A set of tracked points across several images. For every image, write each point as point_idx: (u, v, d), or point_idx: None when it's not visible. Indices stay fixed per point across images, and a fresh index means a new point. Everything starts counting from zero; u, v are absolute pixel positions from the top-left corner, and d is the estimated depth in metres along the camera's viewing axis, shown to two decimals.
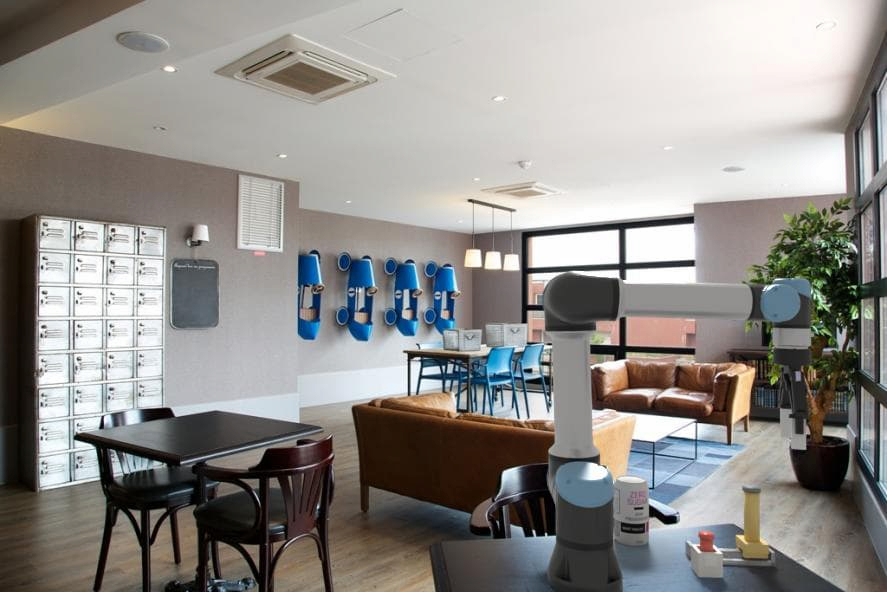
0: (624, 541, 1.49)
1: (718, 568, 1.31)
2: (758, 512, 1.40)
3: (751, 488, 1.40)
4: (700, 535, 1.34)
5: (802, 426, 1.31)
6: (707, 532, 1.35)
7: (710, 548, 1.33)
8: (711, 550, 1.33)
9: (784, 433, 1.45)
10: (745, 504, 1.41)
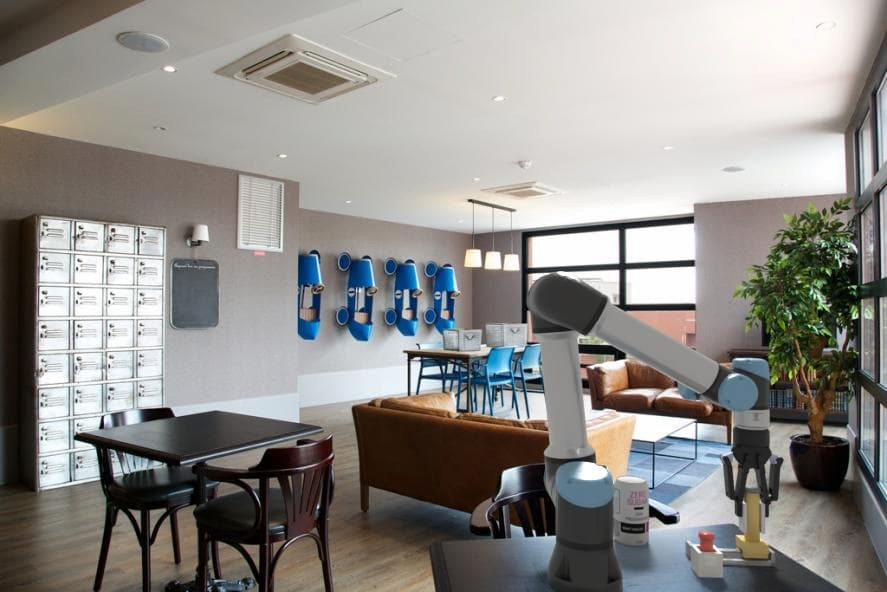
0: (624, 541, 1.49)
1: (718, 568, 1.31)
2: (758, 512, 1.40)
3: (751, 488, 1.40)
4: (700, 535, 1.34)
5: (736, 508, 1.41)
6: (707, 532, 1.35)
7: (710, 548, 1.33)
8: (711, 550, 1.33)
9: None
10: None
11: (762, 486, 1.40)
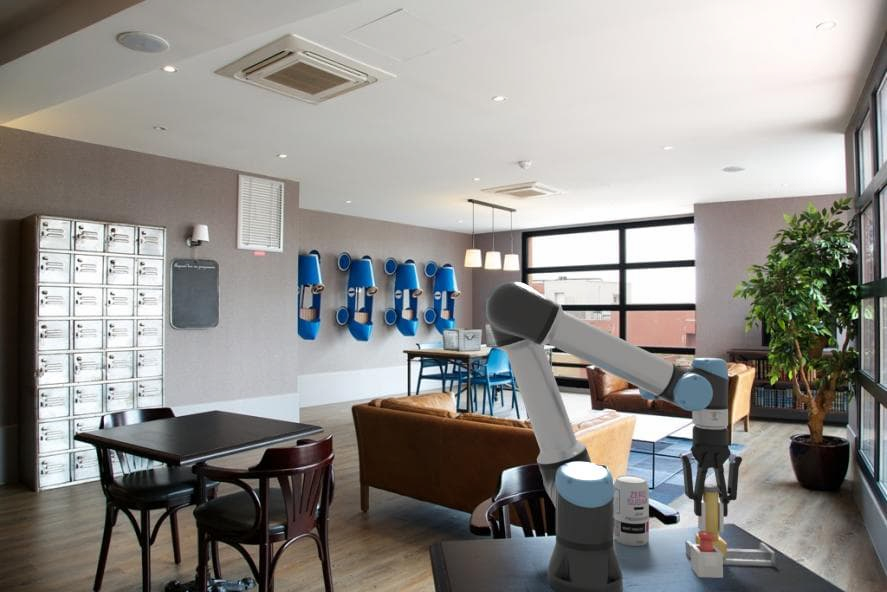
0: (624, 541, 1.49)
1: (718, 568, 1.31)
2: (717, 511, 1.40)
3: (709, 487, 1.40)
4: (700, 535, 1.34)
5: (695, 507, 1.41)
6: (707, 532, 1.35)
7: (710, 548, 1.33)
8: (711, 550, 1.33)
9: None
10: None
11: (721, 485, 1.40)
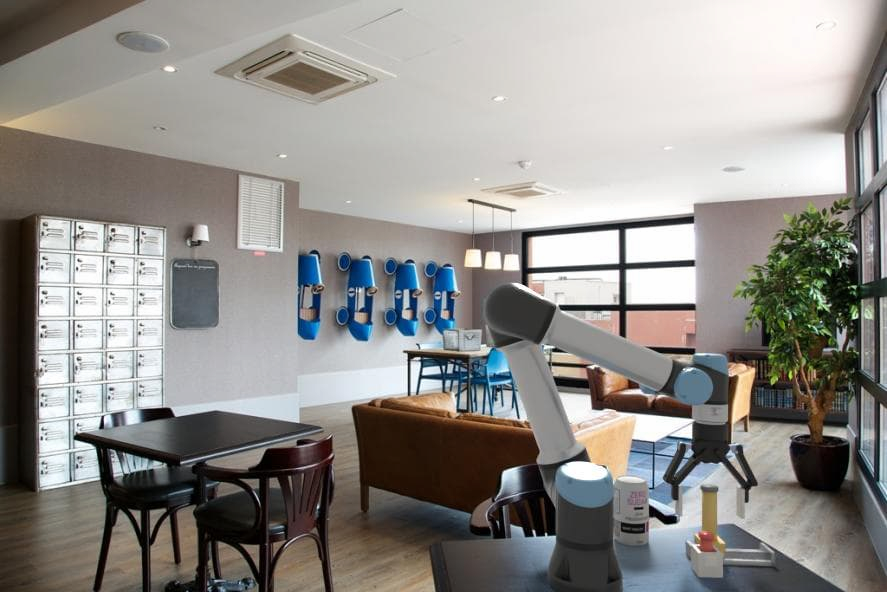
0: (624, 541, 1.49)
1: (718, 568, 1.31)
2: (715, 511, 1.40)
3: (708, 487, 1.40)
4: (700, 535, 1.34)
5: (672, 492, 1.42)
6: (707, 532, 1.35)
7: (710, 548, 1.33)
8: (711, 550, 1.33)
9: (737, 512, 1.42)
10: (703, 503, 1.41)
11: (735, 475, 1.40)
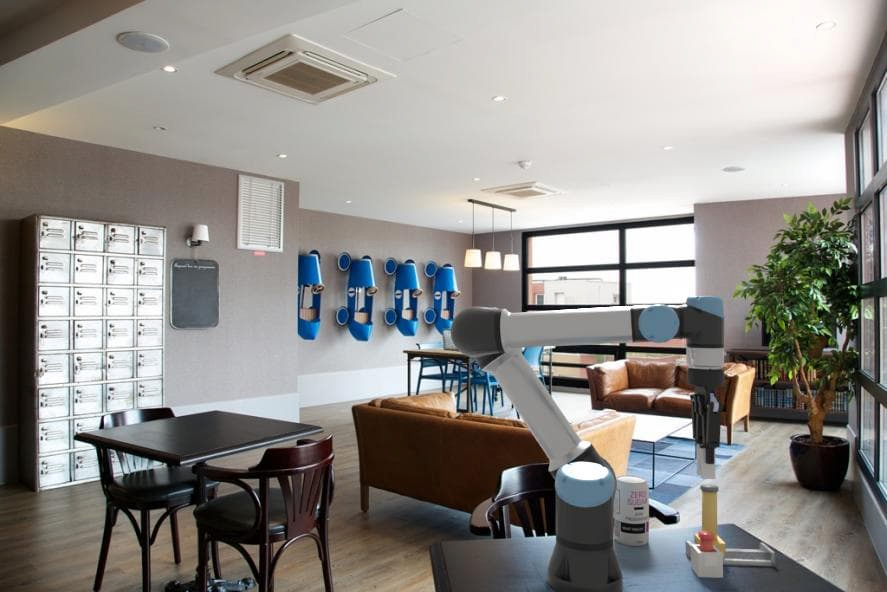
0: (624, 541, 1.49)
1: (718, 568, 1.31)
2: (715, 511, 1.40)
3: (708, 487, 1.40)
4: (700, 535, 1.34)
5: (713, 456, 1.32)
6: (707, 532, 1.35)
7: (710, 548, 1.33)
8: (711, 550, 1.33)
9: (701, 471, 1.36)
10: (703, 503, 1.41)
11: None
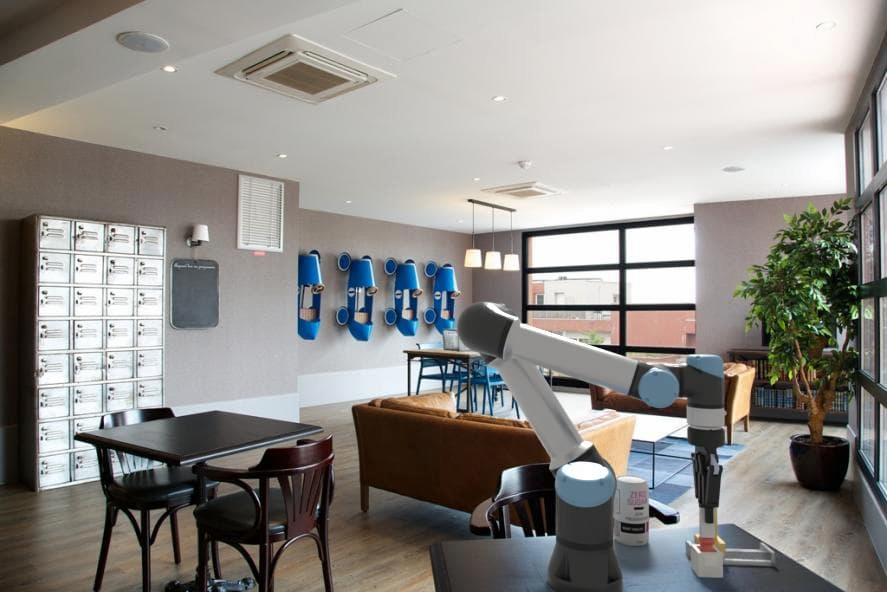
0: (624, 541, 1.49)
1: (718, 568, 1.31)
2: (715, 511, 1.40)
3: None
4: (700, 539, 1.34)
5: (712, 515, 1.32)
6: None
7: None
8: None
9: None
10: None
11: None
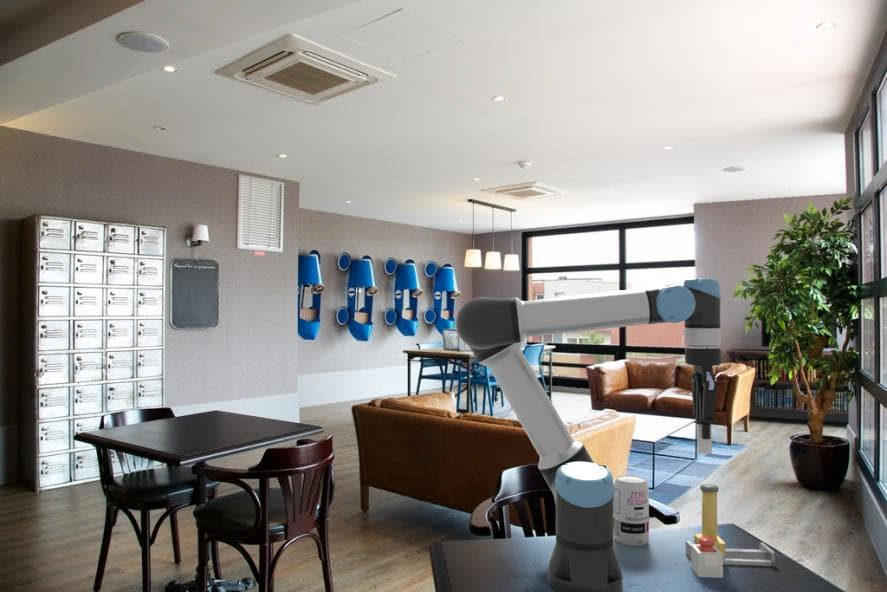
0: (624, 541, 1.49)
1: (718, 568, 1.31)
2: (715, 511, 1.40)
3: (708, 487, 1.40)
4: (700, 541, 1.34)
5: (709, 431, 1.38)
6: (707, 538, 1.35)
7: None
8: None
9: None
10: (703, 503, 1.41)
11: None
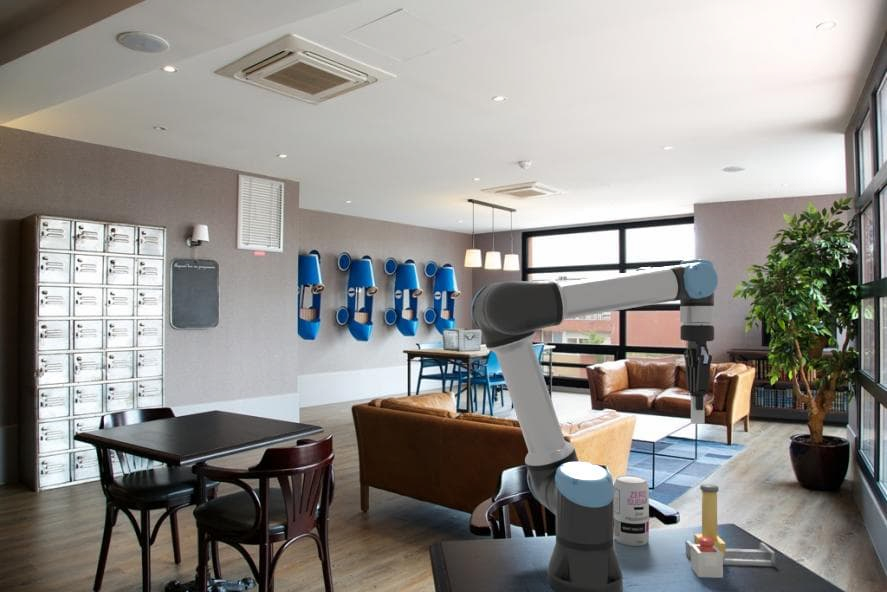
0: (624, 541, 1.49)
1: (718, 568, 1.31)
2: (715, 511, 1.40)
3: (708, 487, 1.40)
4: (700, 541, 1.34)
5: (702, 403, 1.47)
6: (707, 538, 1.35)
7: None
8: None
9: None
10: (703, 503, 1.41)
11: None
